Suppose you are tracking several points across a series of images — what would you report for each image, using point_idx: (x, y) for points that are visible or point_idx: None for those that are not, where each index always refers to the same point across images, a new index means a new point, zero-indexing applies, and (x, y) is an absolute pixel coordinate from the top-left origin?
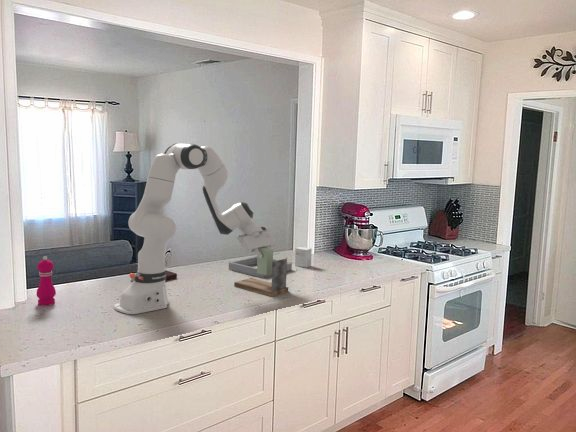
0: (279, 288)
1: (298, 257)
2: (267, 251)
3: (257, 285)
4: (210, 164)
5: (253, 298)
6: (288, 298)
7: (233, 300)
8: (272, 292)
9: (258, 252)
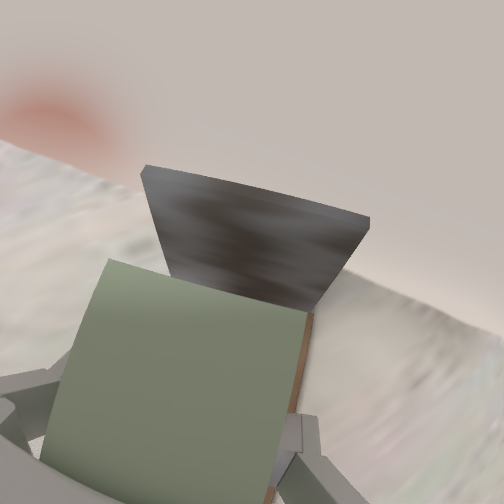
0: None
1: None
2: (289, 317)
3: None
4: None
5: (383, 383)
6: None
7: (449, 432)
8: (311, 313)
9: (343, 481)
